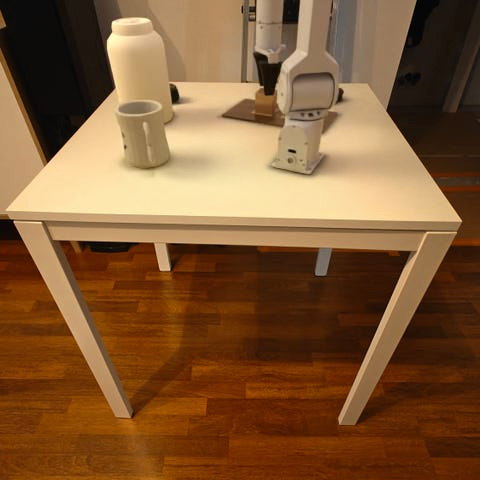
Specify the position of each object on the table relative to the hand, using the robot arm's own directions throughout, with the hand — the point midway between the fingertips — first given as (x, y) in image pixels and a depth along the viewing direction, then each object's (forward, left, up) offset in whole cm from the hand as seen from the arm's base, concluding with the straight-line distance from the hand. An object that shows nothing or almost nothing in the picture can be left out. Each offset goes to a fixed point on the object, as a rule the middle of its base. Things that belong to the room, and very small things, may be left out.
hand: (266, 90), depth 89 cm
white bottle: (-16, +25, -6) cm, 30 cm away
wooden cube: (0, 0, -5) cm, 5 cm away
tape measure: (-3, +28, -6) cm, 29 cm away
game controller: (+18, -11, -6) cm, 22 cm away
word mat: (0, -4, -5) cm, 7 cm away
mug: (-36, +10, -6) cm, 38 cm away
